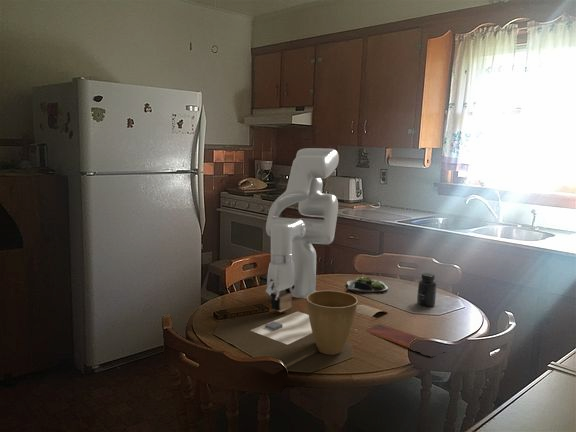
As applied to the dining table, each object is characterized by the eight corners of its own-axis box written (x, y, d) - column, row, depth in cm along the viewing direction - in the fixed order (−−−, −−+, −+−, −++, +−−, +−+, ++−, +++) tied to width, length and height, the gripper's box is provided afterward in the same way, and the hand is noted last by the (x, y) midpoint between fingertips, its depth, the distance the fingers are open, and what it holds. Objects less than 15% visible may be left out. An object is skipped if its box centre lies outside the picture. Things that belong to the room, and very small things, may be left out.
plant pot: (297, 354, 136) (299, 301, 134) (315, 336, 149) (317, 287, 147) (347, 365, 130) (349, 309, 128) (361, 344, 144) (363, 294, 141)
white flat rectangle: (249, 333, 151) (249, 330, 150) (297, 314, 168) (297, 311, 168) (287, 348, 140) (287, 344, 140) (334, 326, 158) (334, 322, 158)
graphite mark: (265, 327, 153) (265, 324, 153) (273, 324, 156) (273, 321, 156) (274, 330, 150) (274, 327, 150) (282, 327, 153) (282, 324, 153)
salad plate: (340, 281, 212) (341, 271, 212) (379, 281, 213) (380, 271, 213) (348, 294, 193) (349, 284, 193) (391, 294, 194) (392, 283, 194)
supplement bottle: (415, 305, 180) (417, 275, 178) (418, 300, 186) (419, 271, 184) (434, 308, 177) (436, 277, 176) (436, 303, 184) (438, 273, 182)
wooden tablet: (450, 351, 141) (450, 346, 141) (431, 360, 135) (431, 355, 135) (380, 324, 162) (381, 320, 161) (361, 331, 155) (361, 326, 155)
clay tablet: (367, 324, 162) (367, 316, 161) (344, 316, 169) (344, 309, 168) (390, 314, 172) (390, 307, 172) (367, 307, 179) (367, 300, 179)
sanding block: (272, 309, 166) (271, 295, 165) (283, 304, 170) (283, 291, 169) (280, 312, 163) (280, 298, 162) (291, 307, 168) (291, 293, 167)
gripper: (289, 251, 172) (289, 297, 175) (256, 261, 159) (257, 311, 163) (305, 254, 167) (305, 302, 171) (272, 265, 154) (272, 316, 158)
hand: (281, 306), depth 167 cm, fingers closed on sanding block, 6 cm apart
